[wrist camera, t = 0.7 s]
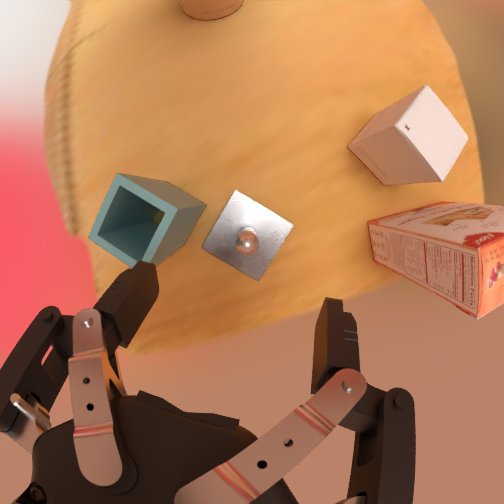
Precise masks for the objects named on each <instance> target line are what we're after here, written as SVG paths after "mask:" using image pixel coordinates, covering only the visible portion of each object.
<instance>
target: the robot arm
mask: <svg viewBox="0 0 504 504" xmlns="http://www.w3.org/2000/svg"><path fill="white" fill-rule="evenodd" d="M179 1H180V3H181V6H182V9H183V11H184V12H185V13H186V14H187V15H188V16H190V17H192V18H195V19H200V20H212V19H218V18H222V17H225V16H228V15H230V14H232V13H234V12H235V11H236V10H238V9H239V8H240V6H241V5H242V3H243V0H179ZM158 294H159V284H158V278H157V272H156V266H155V264H154V263H150V262H145V261H141V260H140V261H138V262H137V263H136V264H135V265H134V267H133V268H132V269H127V270H125V271H124V272H122V273H121V274H120V275H119V276H118V277H117V278H116V279H115V281H114V282H113V283H112V284H111V286H110V288H108V289H107V290H106V292H105V293H104V294H103V295H102V297H101V298H100V299H99V301H98V302H97V303H96V304H95V306H94V307H93V308H92V309H91V308H88V309H83V310H81V311H80V312H78V313H77V314H76V315H75V316H71V315H62V314H61V312H60V310H59V309H58V308H57V307H55V306H48V307H46V308H44V309H42V310H41V311H40V312H39V314H38V315H37V316H36V318H35V319H34V320H33V322H32V323H31V324H30V326H29V327H28V328H27V330H26V331H25V333H24V334H23V336H22V337H21V338H20V340H19V342H18V343H17V344H16V346H15V347H14V349H13V350H12V352H11V353H10V355H9V357H8V358H7V360H6V361H5V363H4V364H3V366H2V368H1V369H0V432H1V433H3V434H4V435H5V436H7V437H8V438H10V439H11V440H13V441H15V442H17V443H18V444H19V445H20V446H22V447H23V448H24V449H26V450H27V451H28V452H29V453H31V454H32V462H33V471H32V479H31V483H30V485H29V487H28V488H27V489H26V490H25V491H24V492H23V494H21V495H20V496H19V497H18V498H17V499H16V500H14V501H13V502H12V503H11V504H299V503H298V501H297V500H296V498H295V497H294V495H293V494H292V492H291V491H290V489H289V487H288V486H287V484H286V483H285V481H284V479H283V478H282V477H284V476H285V475H286V474H287V473H288V472H289V471H291V470H292V469H293V468H294V467H295V466H296V465H298V463H300V462H301V461H302V460H303V459H304V458H305V457H306V456H307V455H308V454H309V453H311V452H312V451H313V450H314V449H315V448H316V447H317V446H318V445H319V444H320V443H321V442H322V441H323V440H324V439H325V438H326V437H327V436H328V435H329V434H330V433H331V431H332V430H333V429H334V428H335V427H336V426H337V425H340V426H342V427H345V428H348V429H350V430H353V431H355V432H356V433H355V442H354V452H353V460H352V468H351V475H350V482H349V488H348V494H347V499H344V500H341V501H339V502H337V503H336V504H412V502H413V494H414V493H413V492H414V481H415V480H414V479H415V454H416V452H415V451H416V441H415V440H416V439H415V438H416V434H415V411H414V410H415V409H414V401H413V397H412V396H411V394H410V393H409V392H408V391H406V390H405V389H402V388H393V389H391V390H389V391H388V392H385V391H383V390H380V389H378V388H375V387H373V386H371V385H369V384H368V383H367V382H366V380H365V378H364V376H363V375H362V374H361V372H360V361H359V347H358V335H357V324H356V321H355V319H354V317H353V316H352V314H351V313H348V312H343V302H342V300H340V299H334V298H328V297H326V298H325V300H324V302H323V305H322V308H321V311H320V314H319V317H318V319H317V323H316V327H315V337H314V338H315V339H314V355H313V370H312V383H311V394H314V395H313V396H312V397H311V398H310V399H309V400H308V401H307V402H306V403H305V404H303V405H300V406H298V407H297V408H296V409H295V410H293V411H292V412H291V413H290V414H289V415H288V416H286V417H285V418H284V419H283V420H282V421H280V422H279V423H278V424H277V425H276V426H274V427H273V428H272V429H271V430H269V431H268V432H267V433H266V434H264V435H263V436H262V437H260V438H259V439H258V438H257V437H256V436H255V435H254V434H253V433H251V432H250V431H249V430H247V429H245V428H243V427H242V426H239V419H234V418H230V417H226V416H222V415H218V414H213V413H191V412H184V411H182V410H180V409H179V408H177V407H175V406H174V405H172V404H171V403H169V402H167V401H166V400H164V399H163V398H160V397H157V396H154V395H151V394H149V393H146V392H144V391H141V390H140V391H139V393H138V395H137V396H135V395H131V396H128V395H127V393H126V390H125V388H124V385H123V381H122V377H121V372H120V367H119V361H118V356H117V351H116V349H117V347H118V346H122V347H125V348H127V347H128V345H129V344H130V342H131V340H132V339H133V337H134V335H135V334H136V332H137V330H138V329H139V327H140V325H141V324H142V322H143V320H144V319H145V317H146V316H147V314H148V312H149V311H150V309H151V307H152V306H153V304H154V303H155V301H156V299H157V297H158ZM50 345H51V346H52V347H53V349H52V350H51V352H50V354H49V355H48V357H47V358H46V360H45V362H44V363H43V365H41V361H42V358H43V357H44V355H45V353H46V352H47V350H48V349H49V347H50ZM68 375H69V382H70V393H71V403H72V411H73V419H71V420H69V421H67V422H65V423H62V424H60V425H58V426H56V427H53V428H51V423H50V416H49V412H50V409H51V407H52V405H53V403H54V401H55V399H56V397H57V395H58V394H59V392H60V390H61V388H62V386H63V384H64V382H65V380H66V378H67V376H68Z"/></svg>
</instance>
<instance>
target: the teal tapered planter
mask: <svg viewBox="0 0 504 504" xmlns="http://www.w3.org/2000/svg"><path fill="white" fill-rule="evenodd" d="M205 207H206V204H205V203H203V202H201V201H200V200H198V199H196V198H195V197H193V196H191V195H189V194H188V193H186V192H184V191H183V190H181V189H179V188H177V187H176V186H174V185H172V184H170V183H169V182H166V181H161V180H155V179H150V178H144V177H138V176H133V175H127V174H121V173H117V174H116V176H115V178H114V180H113V182H112V184H111V187H110V189H109V191H108V193H107V195H106V197H105V199H104V202H103V204H102V206H101V208H100V211H99V213H98V215H97V218H96V220H95V222H94V225H93V227H92V230H91V232H90V235H89V237H88V238H89V239H90V240H92V241H93V242H95V243H96V244H97V245H99V246H100V247H102V248H103V249H105V250H106V251H107V252H109V253H110V254H112V255H113V256H115V257H116V258H118V259H119V260H121V261H122V262H124V263H125V264H127V265H128V266H130V267H131V268H133V267H134V265H135V264H136V263H137V262H138V261H140V260H141V261H145V262H150V263H154V264H155V266H157V265H158V264H160V263H161V262H162V261H164V260H165V259H166V258H168V257H169V256H170V255H172V254H173V253H174V252H176V251H177V250H178V249H180V248H181V247H182V246H184V244H185V242H186V241H187V239H188V237H189V235H190V233H191V232H192V230H193V228H194V226H195V224H196V223H197V221H198V219H199V217H200V216H201V214H202V212H203V210H204V209H205ZM158 209H160V210H162V211H163V212H165V215H164V217H163V219H162V221H161V223H160V224H159V223H157V222H155V221H154V220H153V219H154V217H155V215H156V213H157V211H158Z"/></svg>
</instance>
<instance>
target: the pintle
mask: <svg viewBox="0 0 504 504" xmlns="http://www.w3.org/2000/svg"><path fill="white" fill-rule="evenodd" d="M293 226H294V225H293V224H291V223H289V222H288V221H286V220H285V219H283V218H281V217H280V216H278V215H276V214H275V213H273V212H272V211H270V210H268V209H267V208H265V207H263V206H262V205H260V204H259V203H257V202H255V201H254V200H252V199H250V198H249V197H247V196H245V195H244V194H242V193H240V192H239V191H237V190H235V192H234V193H233V195H232V197H231V198H230V200H229V202H228V203H227V205H226V207H225V208H224V210H223V212H222V213H221V215H220V217H219V218H218V220H217V222H216V223H215V225H214V227H213V229H212V230H211V232H210V234H209V236H208V237H207V239H206V241H205V242H204V244H203V246H202V248H203V249H204V250H206V251H208V252H209V253H211V254H213V255H214V256H216V257H218V258H219V259H221V260H223V261H225V262H226V263H228V264H230V265H231V266H233V267H235V268H236V269H238V270H240V271H242V272H243V273H245V274H247V275H249V276H250V277H252V278H254V279H255V280H257V281H259V280H260V278H261V276H262V275H263V273H264V272H265V270H266V269H267V267H268V265H269V264H270V262H271V261H272V259H273V258H274V256H275V254H276V253H277V251H278V250H279V248H280V246H281V245H282V243H283V242H284V240H285V238H286V237H287V235H288V234H289V232H290V230H291V229H292V227H293Z"/></svg>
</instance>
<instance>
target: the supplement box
mask: <svg viewBox="0 0 504 504" xmlns="http://www.w3.org/2000/svg"><path fill="white" fill-rule="evenodd" d="M467 140H468V136H467V135H466V133H465V132H464V130H463V129H462V127H461V126H460V125H459V123H458V122H457V121H456V119H455V118H454V117H453V115H452V114H451V113H450V111H449V110H448V109H447V108H446V106H445V105H444V104H443V103H442V102H441V100H440V99H439V98H438V97H437V95H436V94H435V93H434V92H433V91H432V89H431V88H430V87H429V86H428V85H425V86H423V87H421V88H419V89H417V90H416V91H414V92H412V93H410V94H409V95H407V96H405V97H404V98H402V99H400V100H399V101H397V102H395V103H394V104H392V105H390V106H389V107H387V108H385V109H384V110H382V111H380V112H379V113H377V114H376V115H375V116H374V117H373V118H372V119H371V120H370V121H369V122H368V123H367V125H366V126H365V127H364V128H363V129H362V130H361V132H360V133H359V134H358V135H357V136H356V137H355V139H354V140H353V141H352V142H351V143H350V144H349V146H348V148H349V149H350V150H351V151H352V152H353V153H354V154H355V155H356V156H357V157H358V158H359V159H360V160H361V161H362V162H363V163H364V164H365V165H366V166H367V167H368V168H369V170H370V171H371V172H372V173H373V174H374V175H375V176H376V177H377V178H378V179H379V180H380V181H381V182H382V183H383V184H384V185H397V184H411V183H427V182H443V181H444V179H445V178H446V176H447V174H448V173H449V171H450V169H451V168H452V166H453V165H454V163H455V161H456V160H457V158H458V156H459V154H460V153H461V151H462V149H463V147H464V146H465V144H466V142H467Z"/></svg>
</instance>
